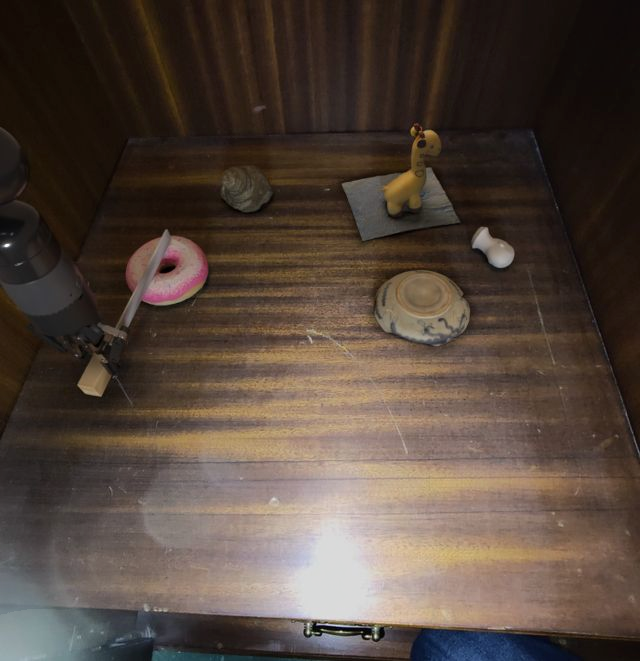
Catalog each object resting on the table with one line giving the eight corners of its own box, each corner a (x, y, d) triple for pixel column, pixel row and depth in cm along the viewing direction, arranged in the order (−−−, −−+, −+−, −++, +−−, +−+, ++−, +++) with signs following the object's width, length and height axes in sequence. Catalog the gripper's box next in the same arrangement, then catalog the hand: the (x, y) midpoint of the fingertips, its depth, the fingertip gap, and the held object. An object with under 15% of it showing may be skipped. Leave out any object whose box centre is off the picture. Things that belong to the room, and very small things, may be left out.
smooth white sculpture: (513, 271, 87) (492, 275, 84) (484, 240, 91) (463, 244, 89) (527, 251, 84) (505, 255, 81) (496, 221, 88) (474, 224, 85)
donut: (163, 325, 82) (153, 306, 78) (115, 283, 87) (104, 263, 83) (227, 276, 87) (221, 256, 83) (178, 240, 93) (170, 219, 89)
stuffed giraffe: (460, 223, 92) (474, 143, 79) (362, 243, 91) (361, 166, 78) (430, 170, 102) (439, 92, 89) (341, 188, 101) (337, 111, 88)
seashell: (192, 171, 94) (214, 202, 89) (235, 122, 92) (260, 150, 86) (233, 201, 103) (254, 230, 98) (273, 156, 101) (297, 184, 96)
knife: (101, 397, 70) (93, 388, 68) (85, 394, 70) (76, 385, 68) (177, 240, 85) (173, 229, 83) (164, 238, 86) (159, 227, 83)
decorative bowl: (356, 294, 84) (407, 362, 76) (356, 279, 81) (409, 348, 73) (433, 261, 88) (489, 323, 80) (436, 245, 85) (495, 308, 77)
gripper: (-26, 304, 57) (48, 382, 71) (88, 323, 55) (141, 400, 69) (12, 255, 61) (74, 338, 75) (119, 271, 59) (162, 353, 73)
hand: (106, 367), depth 72 cm, fingers closed on knife, 2 cm apart
